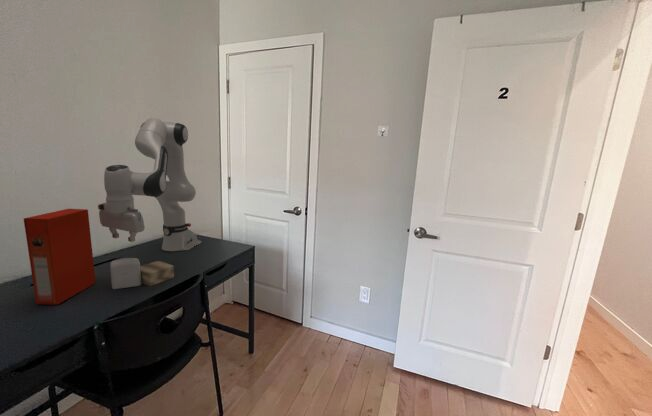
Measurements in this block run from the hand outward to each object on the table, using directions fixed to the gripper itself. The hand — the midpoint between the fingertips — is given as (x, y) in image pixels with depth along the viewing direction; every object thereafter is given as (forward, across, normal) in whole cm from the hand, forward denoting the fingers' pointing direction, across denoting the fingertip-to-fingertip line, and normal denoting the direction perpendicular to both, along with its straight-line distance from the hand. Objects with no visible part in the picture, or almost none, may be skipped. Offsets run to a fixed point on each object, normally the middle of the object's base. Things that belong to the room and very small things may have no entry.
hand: (123, 239), depth 114 cm
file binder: (+20, +14, +14) cm, 28 cm away
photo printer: (+21, 0, +1) cm, 21 cm away
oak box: (+21, -4, -9) cm, 23 cm away
